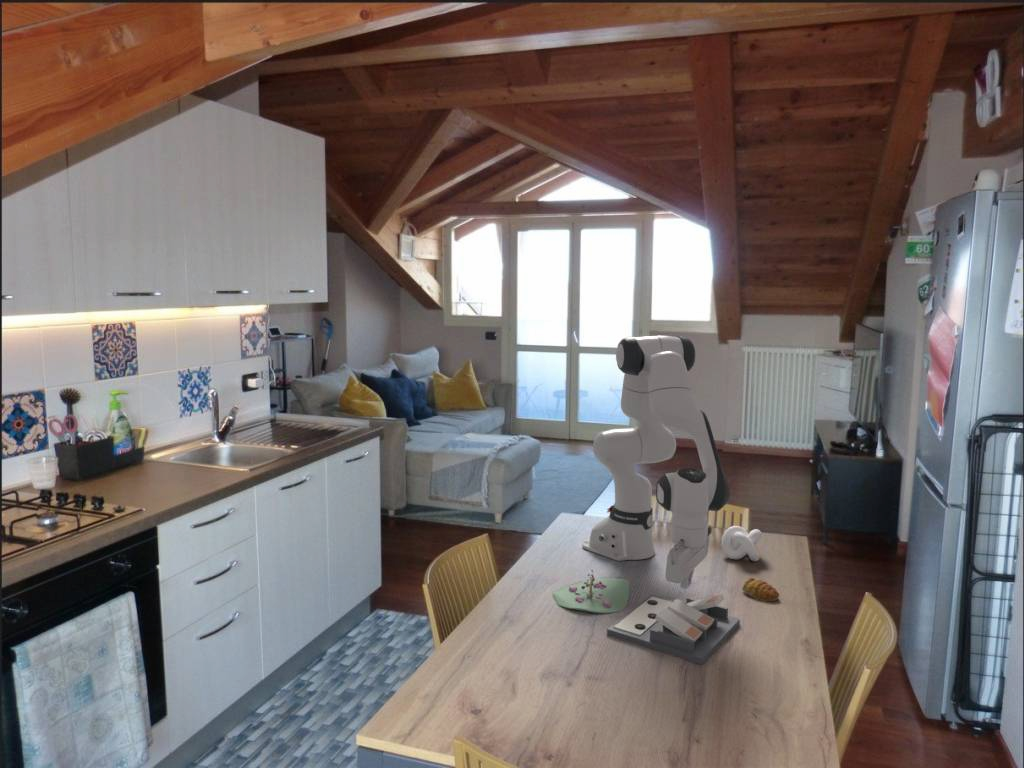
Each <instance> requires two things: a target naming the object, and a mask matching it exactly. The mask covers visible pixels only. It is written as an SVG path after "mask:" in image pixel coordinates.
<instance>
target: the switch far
mask: <svg viewBox="0 0 1024 768" xmlns="http://www.w3.org/2000/svg"><path fill="white" fill-rule="evenodd" d="M696 600H697V601H693V602H689V603H687V605H689V606H691V607H693V608H695V609H696V610H703V609H707V608H711V607H715V606H717V605H718V606H719V604H721V603H722V602H723V601H724V600H725V597H724V595H723V594H717V595H714V596H710V597H709V596H708V597H706V598H702V599H696Z"/></svg>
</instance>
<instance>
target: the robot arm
mask: <svg viewBox="0 0 1024 768" xmlns="http://www.w3.org/2000/svg"><path fill="white" fill-rule="evenodd" d="M615 360H616V365H617V368H618V369H619V370H620V371H621V372H622V373H623V374H624V375H623V379H622V380H623V381H622V388H621V389H622V391H621V400H620V409H621V411H622V413H623V414H624V415H625V416H626V417H627V418H629V419H631V420H632V421H635V423H636V424H635V427H623V428H622V427H621V428H611V429H607V430H602V431H600V432H598V433H597V434H596V435H595V437H594V440H593V442H592V450H593V451H592V452H593V455H594V457H595V458H596V460H597V461H598V462H599V463H600V464H602V465H603V467H605V468H607V470H608V471H609V473H610V475H611V477H612V479H613V485H614V503H613V505H610V506H609V508H606V513H609V516H607V517H605V518H603V519H602V520H601V521H599V522H597V523H596V524H595V525H594V526H592V527H593V528H592V529H591V530H590V531H591V532H590V536H589V537H587V539H585V540H584V541H583V542H582V549H585V550H587V551H590V552H592V553H595V554H598V555H601V556H603V557H606V558H608V559H612V560H614V561H618V562H619V561H620V562H621V561H627V560H629V561H630V560H632V561H633V560H635V561H636V560H644V559H645V560H646V559H650V558H652V557H653V556H655V554H656V551H655V545H654V541H653V535H652V533H653V531H652V526H653V520H654V519H653V511H654V510H653V507H652V495H653V494H652V491H653V486H652V484H651V481H650V480H649V479H648V478H647V477H646V476H644V475H642V474H640V473H637V472H636V465H639V464H642V465H643V464H656V463H660V462H665V461H668V460H671V459H672V458H673V456H674V454H675V453H676V450H677V441H676V437H675V435H674V433H673V432H672V431H671V430H670V428H671V429H675V430H676V431H680V432H681V433H683V434H685V435H688V436H689V437H690V438H691V439H692V440H693V442H694V444H695V445H696V449H697V453H698V456H699V460H700V464H701V468H702V470H701V469H699V468H696V467H690V466H686V467H681V468H679V469H677V470H676V472H669V473H668V472H667V473H663V474H662V475H661V476H660V477H659V478H658V480H657V482H656V486H655V487H656V488H655V489H656V490H655V499H656V502H657V503H658V504H659V505H660V506H661V507H662V508H663V509H665V511H668V512H671V513H672V516H671V520H670V531H669V532H670V534H669V535H670V536H669V539H670V541H671V542H672V543H673V544H674V545H673V547H672V548H671V549H670V550H669V551H668V553H667V558H666V566H665V575H664V576H665V579H666V581H667V582H670V583H673V584H680V588H682V589H683V590H684V589H685V590H686V589H688V588H689V587H690V586H691V585H692V578H693V575H694V573H695V569H696V568H697V567H698V566H699V565H700V564H701V563H702V562H703V561H704V560H705V559H706V558H707V556H708V553H709V546H710V538H711V537H710V535H711V534H712V532H713V526H712V525H711V524H708V519H707V517H708V516H707V513H708V511H711V512H719V511H720V510H721V509H722V508H724V507H725V505H726V504H727V503H729V500H730V496H731V491H730V485H729V482H728V479H727V476H726V475H725V471H724V469H723V467H722V462H721V460H720V456H719V453H718V448H717V445H716V442H715V438H714V435H713V432H712V431H713V430H712V427H711V425H710V422H709V419H708V417H707V414H706V413H705V412H704V411H702V410H701V409H699V408H698V406H697V405H696V403H695V401H694V398H693V396H692V395H693V394H692V390H691V389H692V388H691V382H690V376H689V372H690V371H691V369H692V368H693V367H694V365H695V363H696V349H695V344H694V343H693V341H692V340H691V339H690V338H688V337H684V336H680V335H677V336H671V335H661V334H660V335H659V334H658V335H657V334H655V335H647V336H645V335H644V336H636V337H635V336H628V337H624V338H622V339H621V340H620V341H619V342H618V344H617V348H616V351H615Z"/></svg>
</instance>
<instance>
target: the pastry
mask: <svg viewBox="0 0 1024 768" xmlns="http://www.w3.org/2000/svg"><path fill="white" fill-rule="evenodd" d="M742 591H743V592H744V593H745V594H746V595H749V597H751V598H754V597H755V598H754V599H757V598H758V599H757V600H760V599H762V600H761V601H764V600H765V602H775V601H776V600H778V599H779V597H780V593H779V592H778V591H777V590H776V588H775V587H773V585H772V584H771V585H770V584H769V583H768V582H767V581H763V580H762V579H756V578H755V577H749V578H747V580H746V581H745V582H744V583H743V585H742Z"/></svg>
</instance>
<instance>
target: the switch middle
mask: <svg viewBox="0 0 1024 768" xmlns="http://www.w3.org/2000/svg"><path fill="white" fill-rule="evenodd" d="M673 601H674V602H673V603H671V604H670V605H669V606H668V610H670V611H671V612H673V613H674V614H676V615H677V616H679V617H680V618H682V619H683V620H685V621H687V622H689V623H691V624H692V625H694V626H696V627H699V628H702V629H706V630H707V629H708V628H709V627H710V626H711V625H712V624H713V622H714V619H713V618H711V617H709V616H707V615H706V614H704V613H702V612H700V611H698V610H696V609H695V608H693V607H691V606H689V605H687V604H686V603H685V602H684V601H682V600H680V599H678V598H676V599H675V600H673Z"/></svg>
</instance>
